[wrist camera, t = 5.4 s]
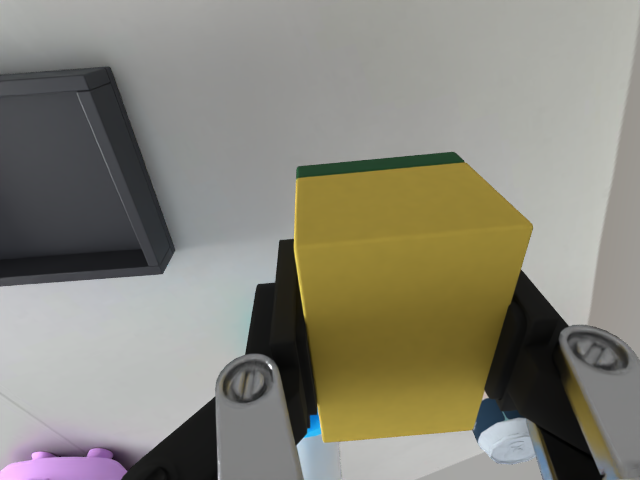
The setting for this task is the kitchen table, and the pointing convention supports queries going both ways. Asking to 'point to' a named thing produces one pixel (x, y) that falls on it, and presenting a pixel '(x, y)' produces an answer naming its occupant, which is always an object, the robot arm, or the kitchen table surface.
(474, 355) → the sponge
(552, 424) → the robot arm
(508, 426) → the beer can
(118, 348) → the kitchen table surface
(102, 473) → the teapot
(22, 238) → the tray
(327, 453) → the can
